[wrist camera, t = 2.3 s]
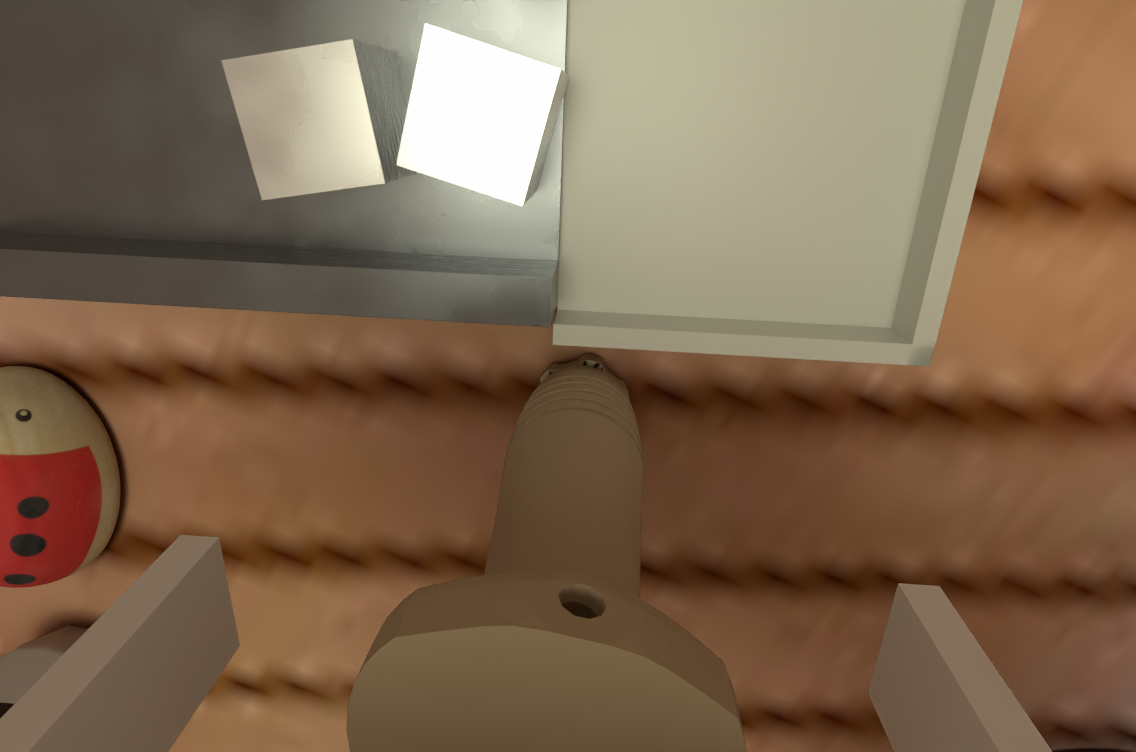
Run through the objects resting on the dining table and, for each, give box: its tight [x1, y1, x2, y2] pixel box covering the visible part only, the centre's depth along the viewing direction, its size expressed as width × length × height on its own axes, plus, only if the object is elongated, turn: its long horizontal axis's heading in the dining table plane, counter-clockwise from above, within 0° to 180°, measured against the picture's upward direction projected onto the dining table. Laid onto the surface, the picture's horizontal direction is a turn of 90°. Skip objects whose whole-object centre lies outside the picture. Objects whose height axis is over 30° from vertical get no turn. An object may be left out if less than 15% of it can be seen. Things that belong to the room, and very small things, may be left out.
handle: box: [347, 354, 747, 752], centre depth 18 cm, size 5×6×15 cm
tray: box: [553, 0, 1023, 366], centre depth 20 cm, size 12×13×2 cm
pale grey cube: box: [396, 23, 569, 206], centre depth 19 cm, size 4×4×4 cm
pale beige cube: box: [221, 39, 419, 200], centre depth 19 cm, size 4×4×4 cm
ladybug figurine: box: [0, 366, 120, 587], centre depth 26 cm, size 7×10×4 cm
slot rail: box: [0, 0, 568, 327], centre depth 20 cm, size 20×11×4 cm, turn 87°
